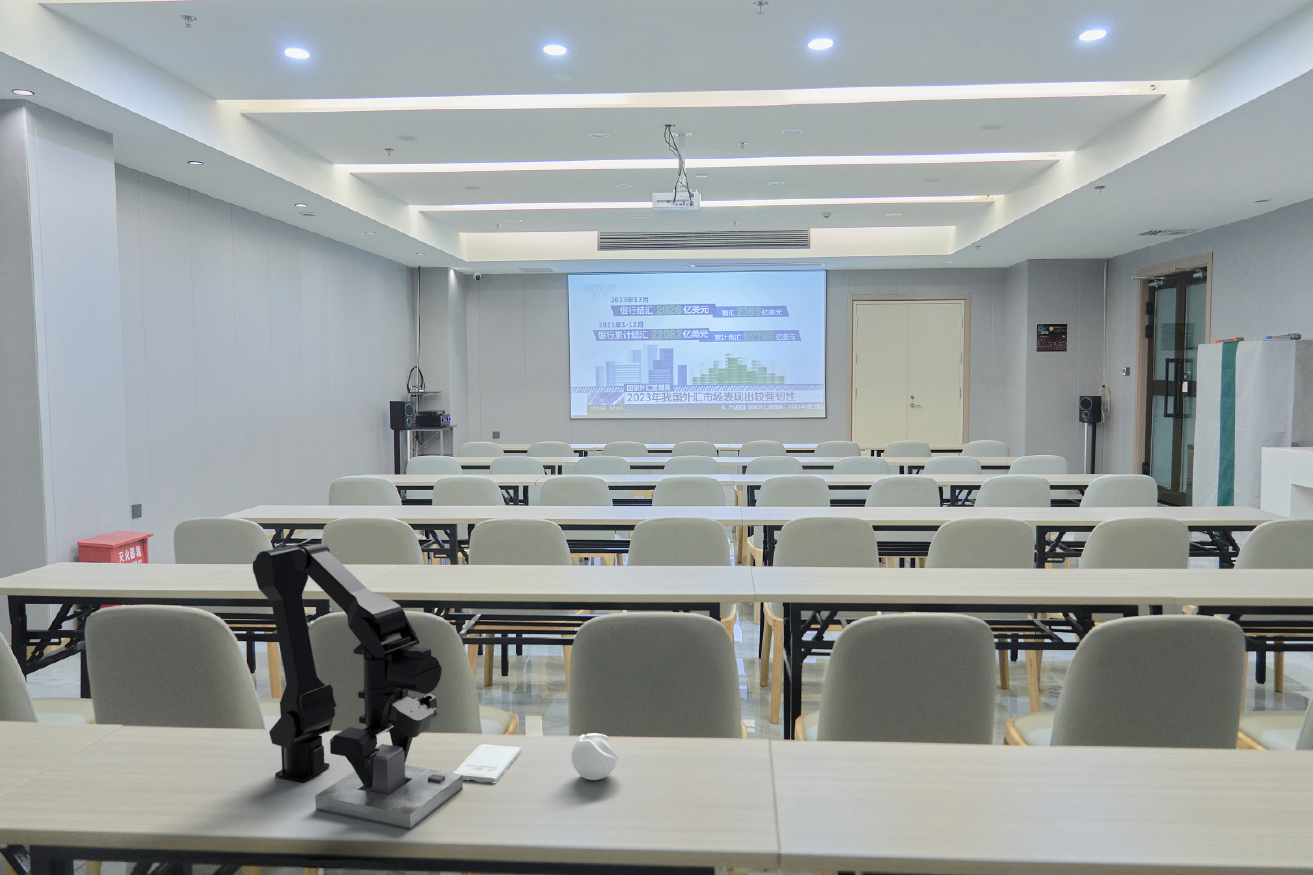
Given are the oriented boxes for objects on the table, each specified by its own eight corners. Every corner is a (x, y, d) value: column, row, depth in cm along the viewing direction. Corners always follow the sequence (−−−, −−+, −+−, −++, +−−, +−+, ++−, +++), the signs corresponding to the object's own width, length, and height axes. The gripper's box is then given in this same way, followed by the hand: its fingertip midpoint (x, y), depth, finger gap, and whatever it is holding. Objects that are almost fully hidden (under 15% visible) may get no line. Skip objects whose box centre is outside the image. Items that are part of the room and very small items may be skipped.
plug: (365, 799, 138) (364, 753, 138) (383, 787, 142) (382, 743, 142) (388, 804, 137) (387, 757, 136) (405, 791, 141) (404, 746, 140)
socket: (315, 810, 136) (315, 792, 136) (374, 772, 149) (373, 756, 149) (410, 829, 130) (409, 811, 129) (462, 788, 143) (462, 771, 142)
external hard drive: (521, 755, 157) (495, 786, 145) (479, 752, 158) (450, 782, 146) (521, 746, 157) (495, 777, 144) (479, 743, 158) (450, 773, 146)
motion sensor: (624, 782, 144) (623, 737, 144) (582, 792, 141) (581, 746, 140) (605, 764, 151) (605, 721, 151) (565, 773, 148) (564, 729, 148)
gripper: (385, 709, 127) (389, 811, 128) (457, 670, 144) (460, 760, 145) (325, 700, 131) (329, 799, 132) (402, 663, 148) (405, 751, 149)
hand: (385, 776), depth 139 cm, fingers open, 8 cm apart
